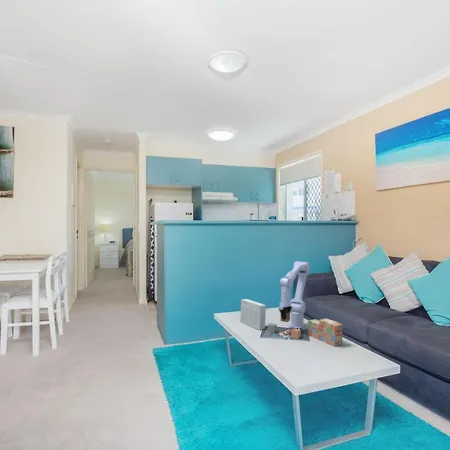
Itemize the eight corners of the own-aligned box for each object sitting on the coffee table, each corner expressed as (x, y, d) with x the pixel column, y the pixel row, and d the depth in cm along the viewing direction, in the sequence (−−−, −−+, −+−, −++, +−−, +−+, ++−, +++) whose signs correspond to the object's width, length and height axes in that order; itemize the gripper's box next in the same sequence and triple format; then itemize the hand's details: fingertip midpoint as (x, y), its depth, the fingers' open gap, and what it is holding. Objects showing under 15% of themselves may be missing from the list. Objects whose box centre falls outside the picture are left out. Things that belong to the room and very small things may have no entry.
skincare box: (265, 329, 208) (266, 304, 208) (259, 330, 205) (260, 306, 205) (246, 320, 225) (246, 298, 225) (239, 321, 222) (240, 299, 222)
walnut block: (283, 319, 203) (283, 310, 203) (290, 320, 201) (290, 311, 201) (280, 320, 200) (280, 312, 200) (287, 322, 197) (287, 313, 197)
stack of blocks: (307, 335, 198) (308, 315, 198) (314, 333, 201) (315, 314, 201) (335, 347, 179) (335, 325, 179) (342, 345, 183) (343, 323, 182)
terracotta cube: (293, 335, 197) (293, 328, 197) (300, 336, 195) (300, 329, 195) (291, 337, 194) (291, 330, 194) (298, 339, 191) (298, 331, 191)
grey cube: (270, 330, 206) (270, 323, 206) (276, 331, 204) (276, 324, 204) (267, 332, 202) (267, 325, 202) (273, 333, 200) (274, 326, 200)
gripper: (284, 294, 208) (284, 314, 208) (275, 298, 196) (274, 320, 196) (294, 295, 204) (294, 316, 205) (285, 299, 192) (285, 322, 192)
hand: (285, 318), depth 200 cm, fingers closed on walnut block, 4 cm apart
